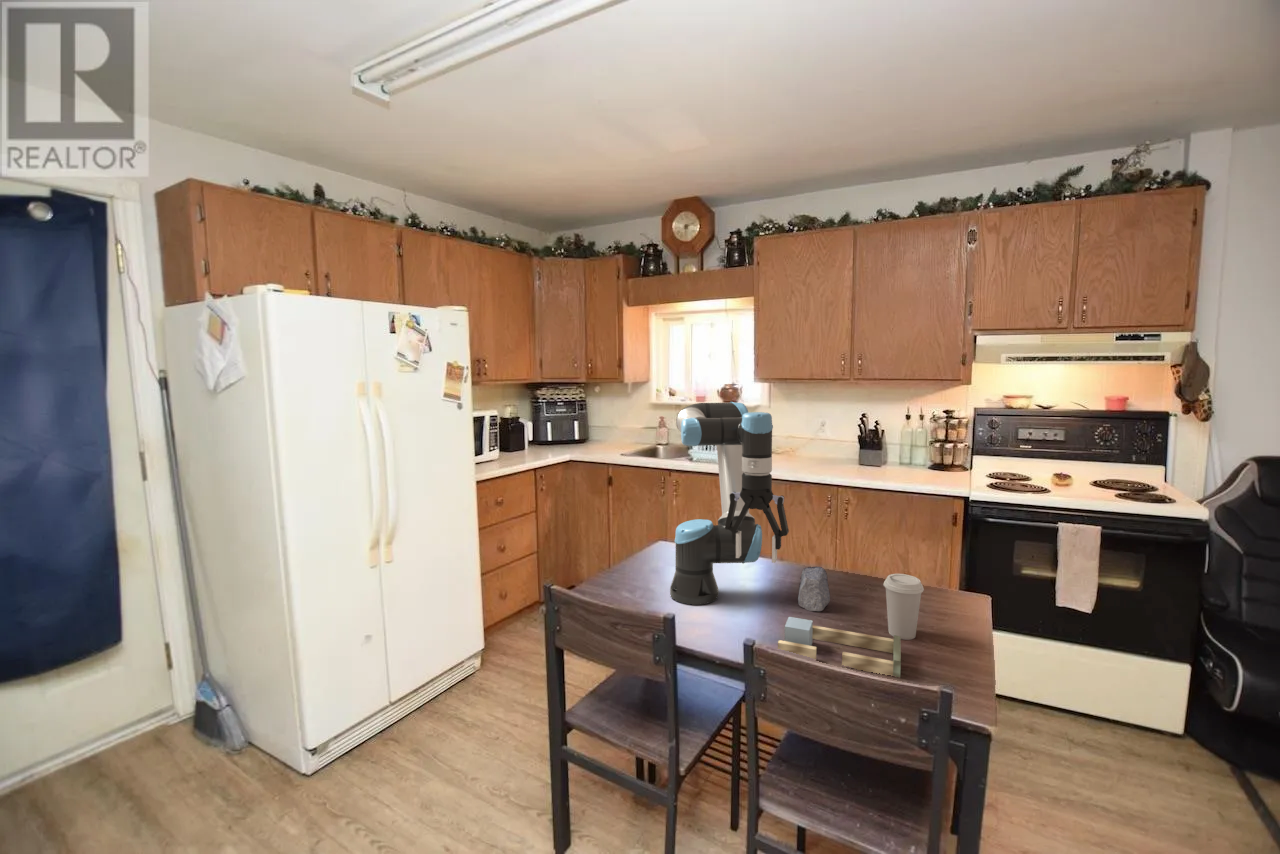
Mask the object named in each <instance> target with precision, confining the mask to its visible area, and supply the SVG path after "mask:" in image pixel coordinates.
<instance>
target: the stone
mask: <svg viewBox="0 0 1280 854" xmlns="http://www.w3.org/2000/svg"><path fill="white" fill-rule="evenodd" d="M827 575H828V574H827V571H826V570H825V568H823V567H822V566H811V567H810V566H808V567H805V568H803V569H802V572H801V576H800V582H799V586H798V587H799V588H798V596H797V597H798V598H797V601H798V602H797V603H798V606H799V607H801V608H803V609H805V610H806V611H809V612H822V611H824V610H825V608H826V607H827V606H828V605H829V603H830V601H831V594H830V590H829V589H830V588H829V583H828V576H827Z"/></svg>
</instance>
